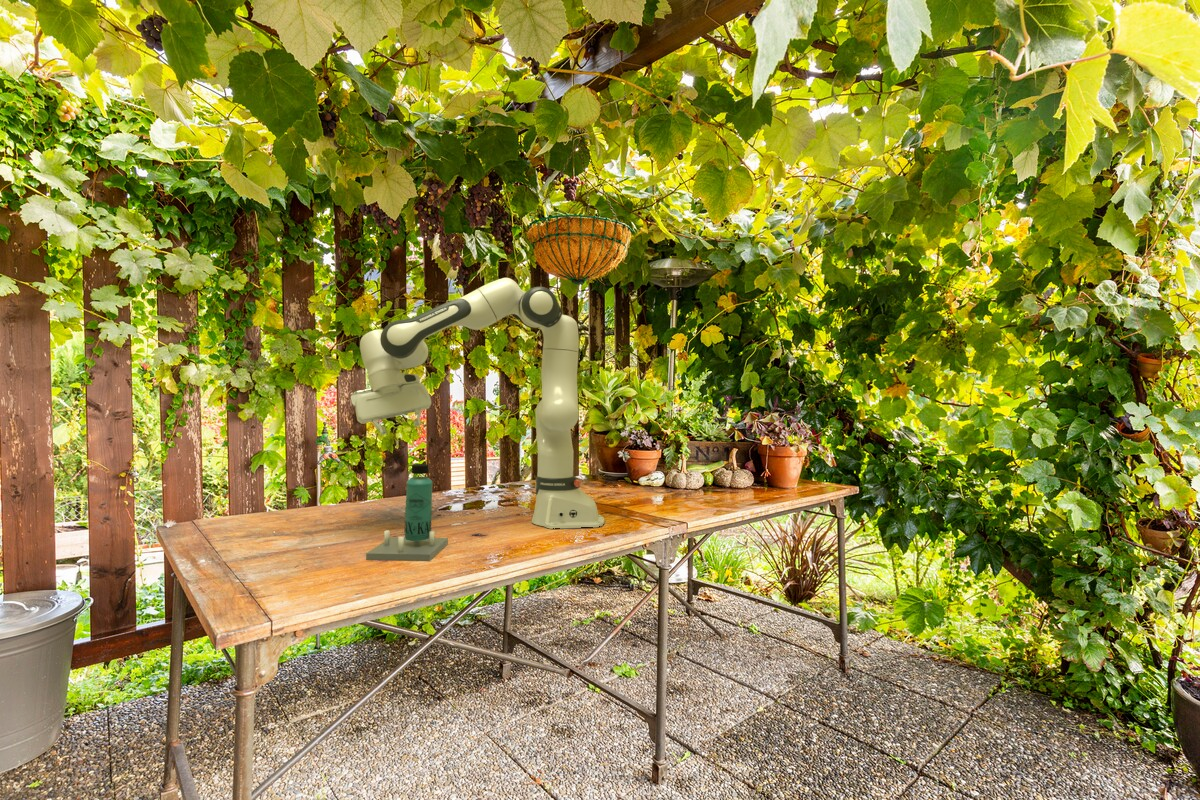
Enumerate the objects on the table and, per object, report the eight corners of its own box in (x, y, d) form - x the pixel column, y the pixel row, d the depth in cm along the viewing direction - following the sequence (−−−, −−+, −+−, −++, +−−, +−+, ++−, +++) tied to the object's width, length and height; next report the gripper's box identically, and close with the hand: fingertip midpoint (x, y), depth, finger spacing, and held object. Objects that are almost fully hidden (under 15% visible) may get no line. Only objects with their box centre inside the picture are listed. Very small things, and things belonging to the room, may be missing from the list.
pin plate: (448, 543, 145) (448, 524, 144) (429, 560, 130) (429, 539, 129) (390, 542, 145) (391, 523, 145) (366, 559, 130) (366, 538, 130)
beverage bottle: (403, 540, 140) (405, 462, 139) (430, 538, 143) (432, 461, 142) (404, 548, 134) (406, 466, 133) (432, 546, 137) (434, 465, 136)
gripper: (349, 388, 149) (363, 436, 147) (424, 374, 160) (438, 418, 157) (348, 396, 155) (361, 442, 152) (420, 381, 165) (434, 424, 163)
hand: (401, 429), depth 155 cm, fingers open, 8 cm apart
